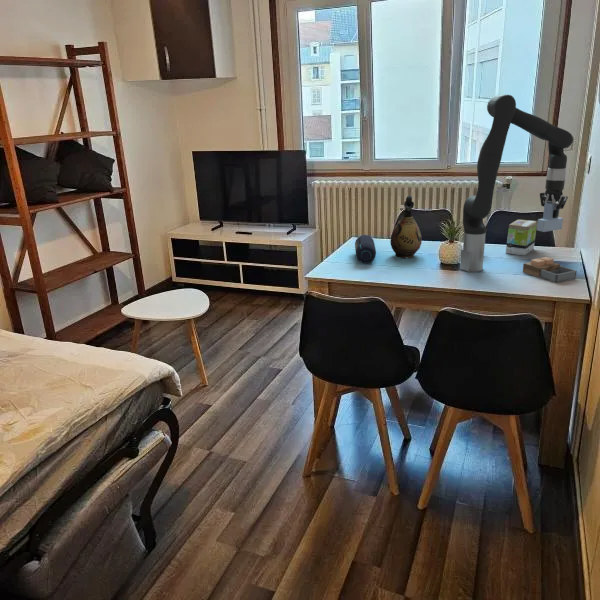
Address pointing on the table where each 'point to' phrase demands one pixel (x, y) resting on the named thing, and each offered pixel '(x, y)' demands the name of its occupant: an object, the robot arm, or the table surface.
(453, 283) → the table surface
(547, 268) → the flat wooden box
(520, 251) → the tea box
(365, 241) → the portable speaker
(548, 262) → the tile
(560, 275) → the tray
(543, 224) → the scraper block
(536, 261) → the tile
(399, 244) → the ceramic jug
